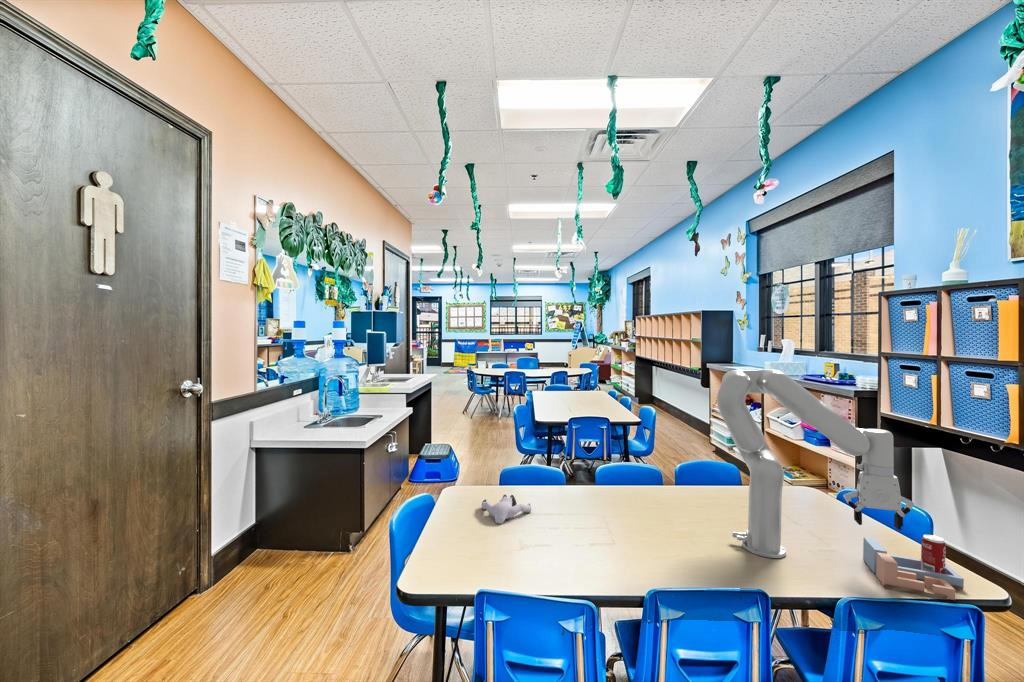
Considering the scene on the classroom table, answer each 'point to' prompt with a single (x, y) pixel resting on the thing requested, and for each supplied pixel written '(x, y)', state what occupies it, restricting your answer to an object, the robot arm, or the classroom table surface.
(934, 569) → the soda can
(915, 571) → the frame
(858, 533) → the classroom table surface
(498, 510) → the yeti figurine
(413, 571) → the classroom table surface
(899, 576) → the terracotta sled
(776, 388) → the robot arm
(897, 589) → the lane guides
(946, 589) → the broken frame end
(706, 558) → the classroom table surface
